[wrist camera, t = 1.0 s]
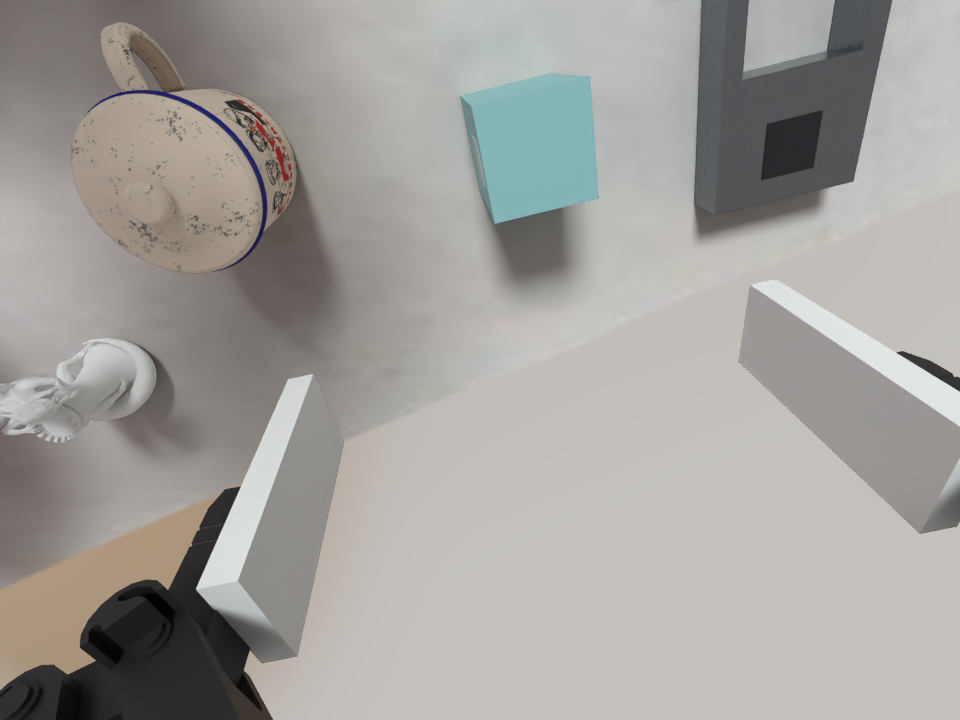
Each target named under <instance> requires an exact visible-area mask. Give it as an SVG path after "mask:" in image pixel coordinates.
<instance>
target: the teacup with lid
mask: <svg viewBox="0 0 960 720" xmlns="http://www.w3.org/2000/svg"><path fill="white" fill-rule="evenodd" d="M100 39H101V48H102V52H103V55H104V58H105V61H106V63H107V65H108V67H109V70H110V72H111V73H112V75H113V77H114V79H115V81H116V83H117V84H118V86H119V88H120V89H121V91H122V92H121V93H117V94H114V95H112V96H109V97H107V98H105V99H103V100H102V101H100V102H99V103H97V104H96V105H95V106H94V107H92V108H91V109H90V110H89V111H88V113H87V114H86V115H85V116H84V118H83V119H82V121H81V122H80V124H79V126H78V128H77V130H76V133H75V135H74V139H73V143H72V150H71V165H72V172H73V177H74V181H75V184H76V188H77V190H78V193H79V195H80V197H81V199H82V201H83V203H84V205H85V207H86V209H87V210H88V212H89V213H90V215H91V216H92V218H93V219H94V220H95V222H96V223H97V224H98V225H99V226H100V228H101V229H102V230H103V231H104V232H105V233H106V234H107V235H108V236H109V237H110V238H111V239H112V240H114V241H115V242H116V243H117V244H118V245H120V246H121V247H122V248H124V249H125V250H127V251H128V252H130V253H131V254H133V255H134V256H136V257H138V258H140V259H142V260H144V261H146V262H148V263H150V264H153V265H155V266H158V267H161V268H164V269H168V270H172V271H176V272H183V273H207V272H214V271H219V270H222V269H226V268H228V267H231V266H233V265H235V264H236V263H238V262H240V261H241V260H243V259H244V258H245V257H247V256H248V255H249V254H250V253H251V252H252V250H253V249H254V248H255V247H256V245H257V244H258V242H259V240H260V238H261V236H262V234H263V232H264V231H265V230H266V229H267V228H268V227H269V226H270V225H271V224H272V223H273V222H274V221H275V220H276V219H277V218H278V217H279V216H280V215H281V214H282V213H283V212H284V210H285V209H286V208H287V206H288V205H289V203H290V201H291V199H292V197H293V194H294V191H295V187H296V179H297V172H296V163H295V158H294V155H293V152H292V149H291V146H290V144H289V142H288V140H287V138H286V136H285V134H284V133H283V131H282V130H281V128H280V127H279V126H278V124H277V123H276V122H275V121H274V120H273V119H272V117H271V116H270V115H269V114H267V113H266V112H265V111H264V110H263V109H262V108H260V107H259V106H258V105H256V104H255V103H253V102H252V101H250V100H248V99H247V98H245V97H243V96H240V95H238V94H235V93H232V92H229V91H225V90H221V89H196V90H187V88H186V86H185V84H184V82H183V81H182V79H181V77H180V75H179V73H178V72H177V70H176V68H175V66H174V65H173V63H172V62H171V60H170V59H169V57H168V56H167V55H166V53H165V52H164V51H163V50H162V48H161V47H160V46H159V45H158V44H157V43H156V42H155V41H154V40H153V39H152V38H151V37H150V36H149V35H147V34H146V33H145V32H143V31H142V30H141V29H139V28H137V27H136V26H134V25H131V24H129V23H124V22H119V23H114V24H111V25H108V26H106V27H105V28H104V29H103V30H102V32H101V37H100ZM131 50H132V51H133V52H135V53H136V54H137V55H138V56H139V57H140V58H141V59H142V60H143V61H144V62H145V64H146V65H147V66H148V67H149V69H150V70H151V72H152V73H153V75H154V76H155V78H156V79H157V81H158V83H159V85H160V86H161V88H162V90H163V92H160V91H153V90H150V89H149V87H148V85H147V83H146V82H145V80H144V78H143V76H142V74H141V72H140V71H139V69H138V67H137V64H136V62H135V60H134V58H133V55H132V52H131Z"/></svg>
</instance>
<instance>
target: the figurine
mask: <svg viewBox="0 0 960 720" xmlns="http://www.w3.org/2000/svg"><path fill="white" fill-rule="evenodd" d="M88 343H89V344H88ZM85 344H88V345H87V346H86V347H85V348H84V349H83V350H81V351H80V352H78V353H77V354H76V355H75V356H74V357H72V358H70V359H69V360H66V361H63V362H61V363H60V364H59V365H58V368H57V371H56V373H57V378H56V377H54V378H53V377H50V376H47V375H43V374H37V375H32V376H27V377H24V378H22V379H19V380H17V381H14V382H11V383H2V384H0V404H1V405H0V427H1V426H2V425H3V424H4V425H3V427H2V429H1V432H2V433H3V434H4V435H9V436H10V435H20V434H26V433H37V432H38V431H40V433H39V434H38V435H37V437H39V438H41V437H42V436H43V435H47V437H46V439H45V441H48V442H49V441H50V440H51V439H52V438H54V441H53V443H58V442H59V441H60V440H61V443H64V442H66V441H67V440H68V441H69V440H71V439H72V438H73V437H74V436H75V435H76V434H77V432H78V431H79V430H80V429H81V428H83V427H85V426H86V425H87V424H88V422H89V420H94V421H99V420H112V419H118V418H122V417H124V416H127V415H130V414H132V413H133V412H135V411H136V410H137V409H139V408H140V407H141V406H142V405H143V404H144V403H145V402H146V401H147V400H148V398H149V397H150V396H151V394H152V392H153V390H154V388H155V384H156V379H157V373H156V368H155V365H154V362H153V360H152V359H151V357H150V356H149V355H148V354H147V353H146V352H145V351H144V350H143V349H142V348H140V347H139V346H137V345H135V344H133V343H131V342H128V341H124V340H119V339H113V338H100V339H94V340H90V341H87V342H85V343H84V344H83V345H85ZM83 345H82V346H83ZM80 359H81V365H82V370H81V371H80V373H79V375H78V376H77V378H76V379H75V378H74V377H73V376H72V375H71V374H70V373H69V371H68V367H69V366H71V365H73V364H74V363H76V362H77V361H78V360H80ZM125 390H129V391H128V392H127V393H126V394H125V395H124V396H122V397H121V398H119V397H120V395H122V394H123V393H124V391H125ZM111 395H112V396H111ZM108 397H109V398H108ZM21 425H26V428H24V429H16V428H18V427H19V426H21ZM33 427H34V428H33ZM32 428H33V429H32Z"/></svg>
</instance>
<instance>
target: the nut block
mask: <svg viewBox="0 0 960 720" xmlns="http://www.w3.org/2000/svg"><path fill="white" fill-rule="evenodd" d="M460 98H461V102H462V107H463V112H464V117H465V122H466V127H467V131H468V136H469V141H470V146H471V151H472V156H473V160H474V165H475V170H476V175H477V180H478V185H479V189H480V191H481V193H482V196H483V198H484V200H485V203H486V205H487V207H488V210H489V212H490V214H491V216H492V219H493V221H494V223H495V224H496V223H500V222H504V221H508V220H513V219H517V218H521V217H525V216H529V215H533V214H537V213H541V212H545V211H549V210H553V209H558V208H562V207H566V206H570V205H574V204H578V203H582V202H586V201H590V200H594V199H599V195H598V181H597V167H596V153H595V140H594V126H593V112H592V98H591V85H590V76H577V75H563V74H550V73H549V74H545V75H541V76H537V77H533V78H529V79H525V80H522V81H518V82H514V83H510V84H506V85H502V86H498V87H494V88H490V89H486V90H482V91H478V92H474V93H470V94H466V95H462V96H460Z"/></svg>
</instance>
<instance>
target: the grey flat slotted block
mask: <svg viewBox="0 0 960 720" xmlns="http://www.w3.org/2000/svg"><path fill="white" fill-rule="evenodd" d="M748 4H749V0H702V14H701V41H700V68H699V95H698V122H697V149H696V176H695V203H694V204H695V205H696V206H698V207H700V208H702V209H704V210H706V211H708V212H710V213H712V214H714V215H716V214H720V213H725V212H729V211H733V210H737V209H741V208H745V207H750V206H754V205H758V204H762V203H766V202H770V201H774V200H779V199H783V198H787V197H791V196H795V195H799V194H803V193H808V192H812V191H816V190H820V189H824V188H828V187H832V186H837V185H841V184H845V183H849V182H853V181H854V176H855V172H856V167H857V162H858V158H859V153H860V148H861V144H862V139H863V134H864V130H865V125H866V120H867V116H868V111H869V106H870V102H871V97H872V92H873V88H874V83H875V78H876V74H877V69H878V64H879V60H880V55H881V50H882V46H883V41H884V36H885V32H886V27H887V22H888V18H889V13H890V8H891V4H892V0H836V1H835V8H834V14H833V20H832V26H831V32H830V39H829V45H828V51H826V52H822V53H818V54H814V55H810V56H806V57H802V58H798V59H794V60H790V61H786V62H782V63H778V64H774V65H770V66H766V67H762V68H758V69H754V70H750V71H746V72H743V66H744V53H745V41H746V28H747V16H748Z"/></svg>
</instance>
